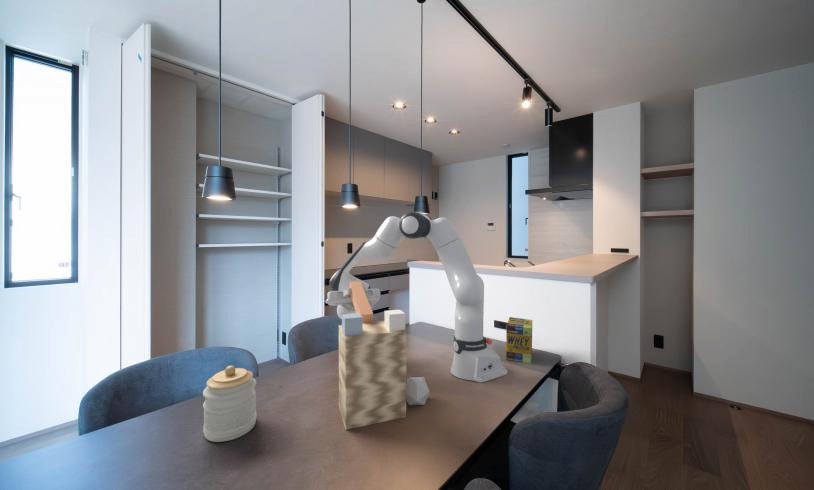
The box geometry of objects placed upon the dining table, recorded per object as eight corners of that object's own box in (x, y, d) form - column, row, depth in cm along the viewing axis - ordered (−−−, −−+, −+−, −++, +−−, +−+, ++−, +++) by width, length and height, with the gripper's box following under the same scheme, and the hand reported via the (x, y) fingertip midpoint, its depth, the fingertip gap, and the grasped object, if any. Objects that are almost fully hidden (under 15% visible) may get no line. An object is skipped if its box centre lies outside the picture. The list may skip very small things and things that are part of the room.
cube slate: (358, 329, 94) (358, 313, 94) (362, 334, 90) (362, 317, 89) (342, 331, 92) (341, 314, 92) (344, 336, 88) (344, 318, 88)
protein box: (505, 360, 137) (506, 325, 137) (508, 348, 151) (509, 316, 151) (531, 364, 133) (532, 328, 133) (532, 351, 147) (532, 319, 147)
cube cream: (399, 325, 99) (399, 309, 99) (405, 329, 94) (405, 313, 94) (384, 326, 97) (384, 310, 97) (389, 331, 92) (389, 314, 92)
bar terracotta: (359, 290, 121) (360, 281, 120) (372, 323, 103) (373, 313, 102) (349, 290, 120) (349, 281, 118) (360, 325, 102) (361, 314, 100)
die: (420, 415, 96) (436, 385, 99) (397, 398, 97) (413, 370, 100) (419, 410, 104) (434, 383, 107) (397, 395, 105) (412, 369, 108)
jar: (219, 450, 79) (218, 380, 79) (194, 432, 86) (193, 369, 86) (266, 423, 90) (265, 363, 90) (240, 410, 97) (239, 353, 97)
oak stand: (392, 396, 106) (393, 320, 105) (406, 416, 94) (406, 330, 93) (338, 406, 99) (338, 325, 98) (345, 429, 88) (345, 337, 87)
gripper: (324, 296, 124) (327, 283, 113) (374, 292, 132) (382, 280, 120) (325, 311, 122) (328, 299, 110) (376, 307, 129) (384, 296, 117)
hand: (357, 289), depth 115 cm, fingers closed on bar terracotta, 4 cm apart
